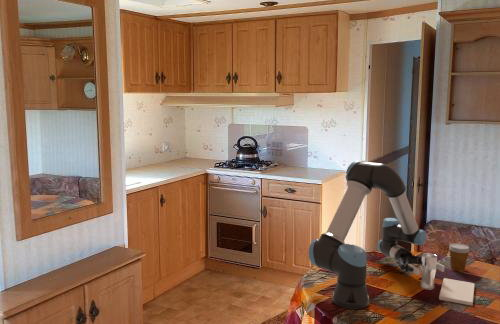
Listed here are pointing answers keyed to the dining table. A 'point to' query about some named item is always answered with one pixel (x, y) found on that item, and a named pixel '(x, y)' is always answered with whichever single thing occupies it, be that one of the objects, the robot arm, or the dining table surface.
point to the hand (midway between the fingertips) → (431, 270)
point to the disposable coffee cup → (458, 256)
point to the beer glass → (428, 270)
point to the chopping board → (457, 291)
